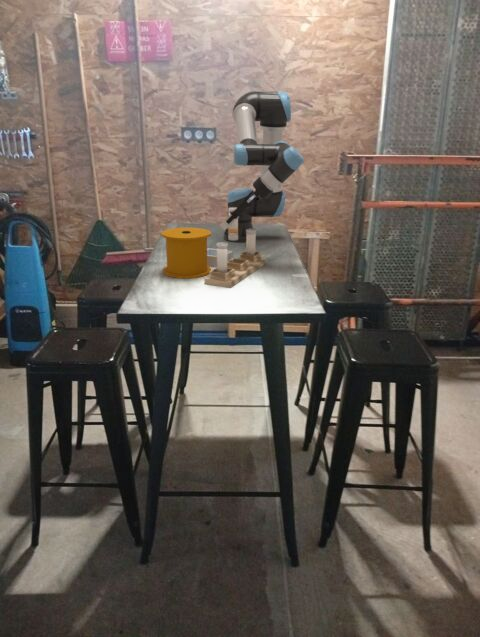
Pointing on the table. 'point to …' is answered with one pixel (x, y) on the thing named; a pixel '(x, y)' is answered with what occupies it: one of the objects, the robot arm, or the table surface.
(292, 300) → the table surface
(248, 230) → the fuse
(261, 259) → the fuse block
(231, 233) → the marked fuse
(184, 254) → the spool
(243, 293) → the table surface
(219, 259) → the fuse
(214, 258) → the tray
